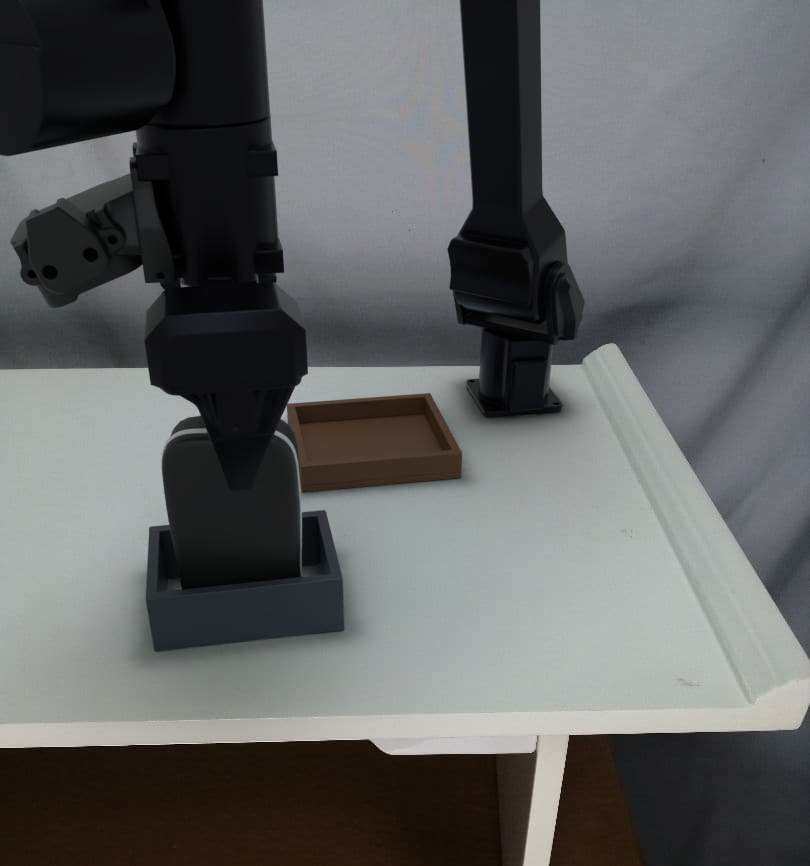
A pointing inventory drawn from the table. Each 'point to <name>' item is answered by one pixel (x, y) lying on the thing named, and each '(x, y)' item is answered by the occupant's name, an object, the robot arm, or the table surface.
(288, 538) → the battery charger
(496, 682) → the table surface
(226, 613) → the dock
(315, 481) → the tray
